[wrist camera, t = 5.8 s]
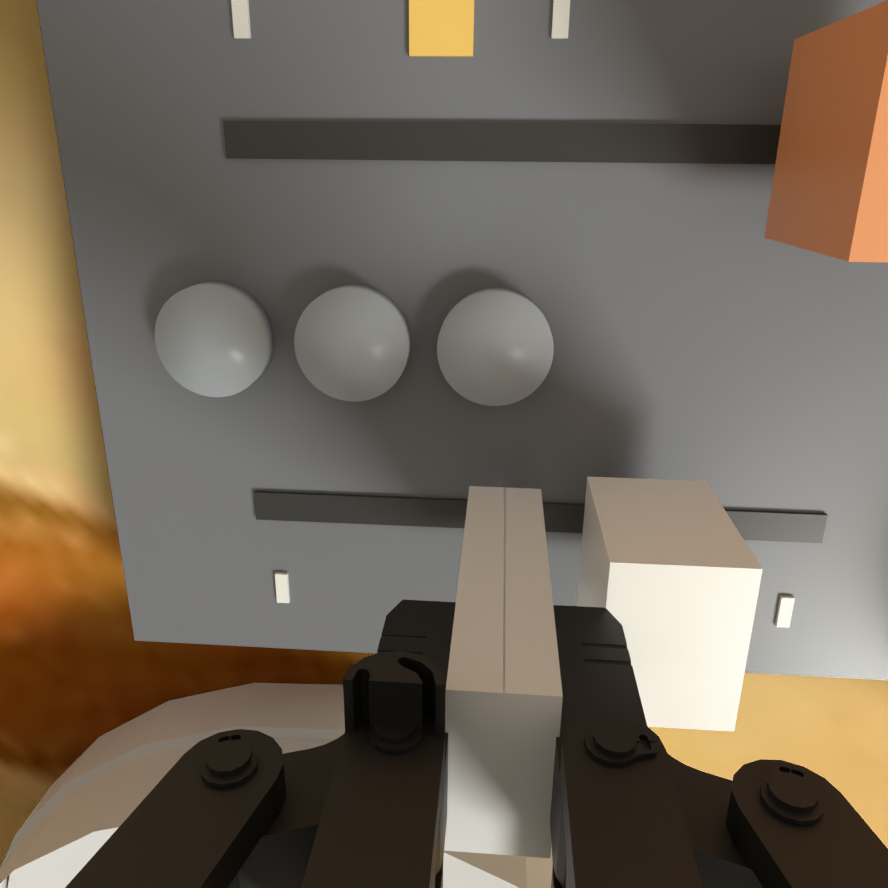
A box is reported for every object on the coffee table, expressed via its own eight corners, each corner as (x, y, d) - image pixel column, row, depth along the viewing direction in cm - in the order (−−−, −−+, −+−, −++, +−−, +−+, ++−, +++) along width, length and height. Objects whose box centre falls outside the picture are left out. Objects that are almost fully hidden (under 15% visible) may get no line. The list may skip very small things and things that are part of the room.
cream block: (571, 582, 18) (594, 723, 13) (581, 455, 17) (610, 561, 12) (675, 587, 18) (734, 731, 13) (692, 459, 17) (762, 569, 12)
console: (173, 589, 22) (123, 654, 19) (90, -59, 16) (1, -107, 14) (893, 624, 21) (956, 699, 18) (1065, -67, 15) (1199, -121, 12)
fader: (744, 232, 15) (849, 261, 10) (770, 49, 14) (898, -6, 9) (871, 234, 15) (1031, 264, 10) (907, 49, 14) (1104, -6, 9)
